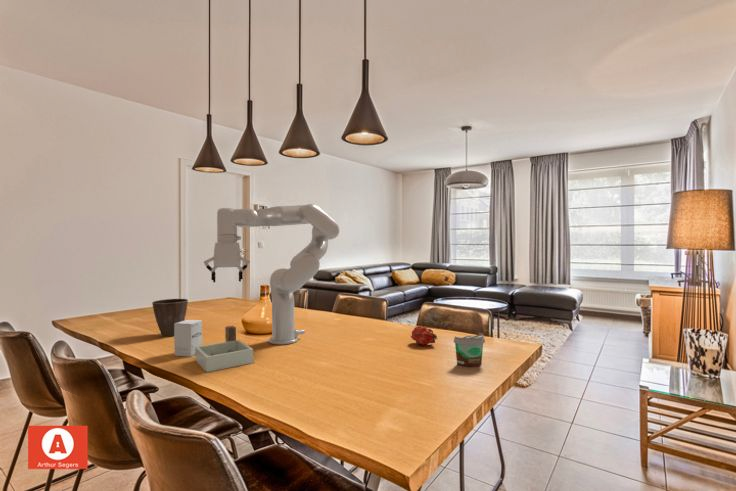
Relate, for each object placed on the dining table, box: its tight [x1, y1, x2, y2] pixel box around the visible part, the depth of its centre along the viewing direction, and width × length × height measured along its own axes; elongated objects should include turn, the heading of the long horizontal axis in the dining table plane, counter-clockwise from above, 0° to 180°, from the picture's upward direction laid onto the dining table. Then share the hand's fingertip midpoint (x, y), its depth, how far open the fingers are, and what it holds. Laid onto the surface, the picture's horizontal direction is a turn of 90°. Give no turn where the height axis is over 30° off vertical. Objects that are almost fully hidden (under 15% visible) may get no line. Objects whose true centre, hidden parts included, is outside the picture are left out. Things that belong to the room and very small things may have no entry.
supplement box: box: [173, 319, 203, 358], centre depth 150 cm, size 7×7×13 cm
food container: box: [453, 332, 486, 368], centre depth 133 cm, size 12×6×10 cm, turn 117°
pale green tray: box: [194, 339, 254, 373], centre depth 140 cm, size 16×16×5 cm
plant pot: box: [151, 298, 189, 337], centre depth 180 cm, size 15×15×16 cm
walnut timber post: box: [224, 325, 237, 342], centre depth 156 cm, size 3×4×9 cm
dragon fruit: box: [410, 325, 438, 347], centre depth 160 cm, size 8×8×12 cm
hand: (227, 281), depth 154 cm, fingers open, 9 cm apart
